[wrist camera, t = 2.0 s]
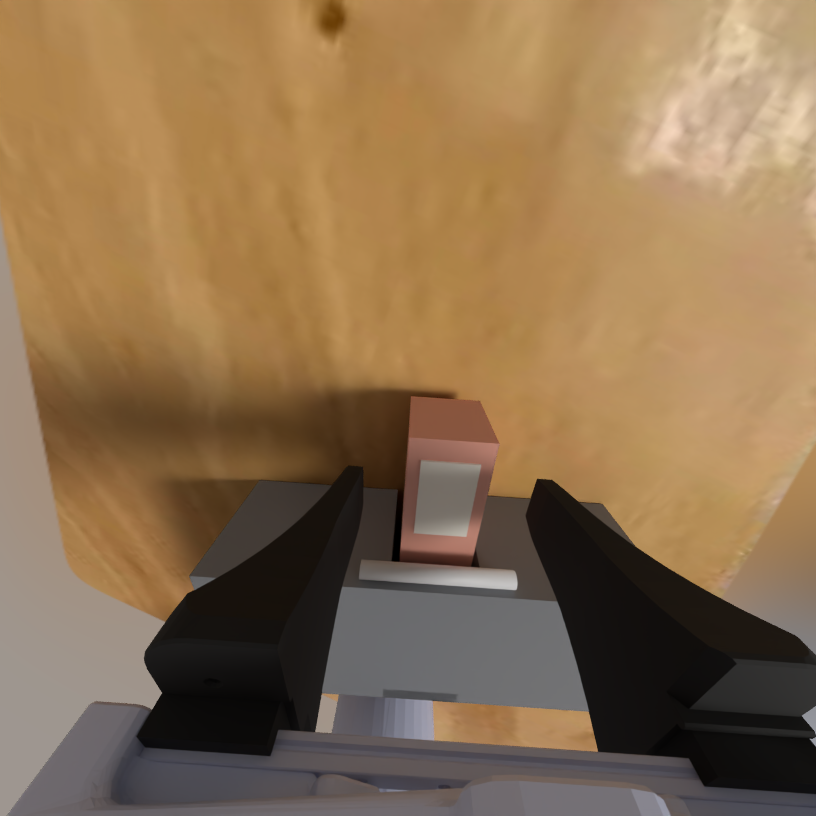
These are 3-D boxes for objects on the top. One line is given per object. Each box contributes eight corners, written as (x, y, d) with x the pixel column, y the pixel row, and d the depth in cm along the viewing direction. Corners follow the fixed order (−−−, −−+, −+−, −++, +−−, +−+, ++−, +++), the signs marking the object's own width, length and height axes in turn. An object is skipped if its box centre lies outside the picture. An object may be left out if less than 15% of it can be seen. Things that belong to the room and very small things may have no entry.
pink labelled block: (450, 560, 20) (457, 626, 17) (399, 557, 20) (394, 622, 17) (479, 401, 15) (500, 445, 11) (411, 396, 15) (409, 438, 11)
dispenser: (558, 600, 23) (605, 712, 17) (279, 581, 23) (232, 686, 17) (607, 494, 19) (693, 599, 13) (257, 470, 19) (184, 564, 13)
